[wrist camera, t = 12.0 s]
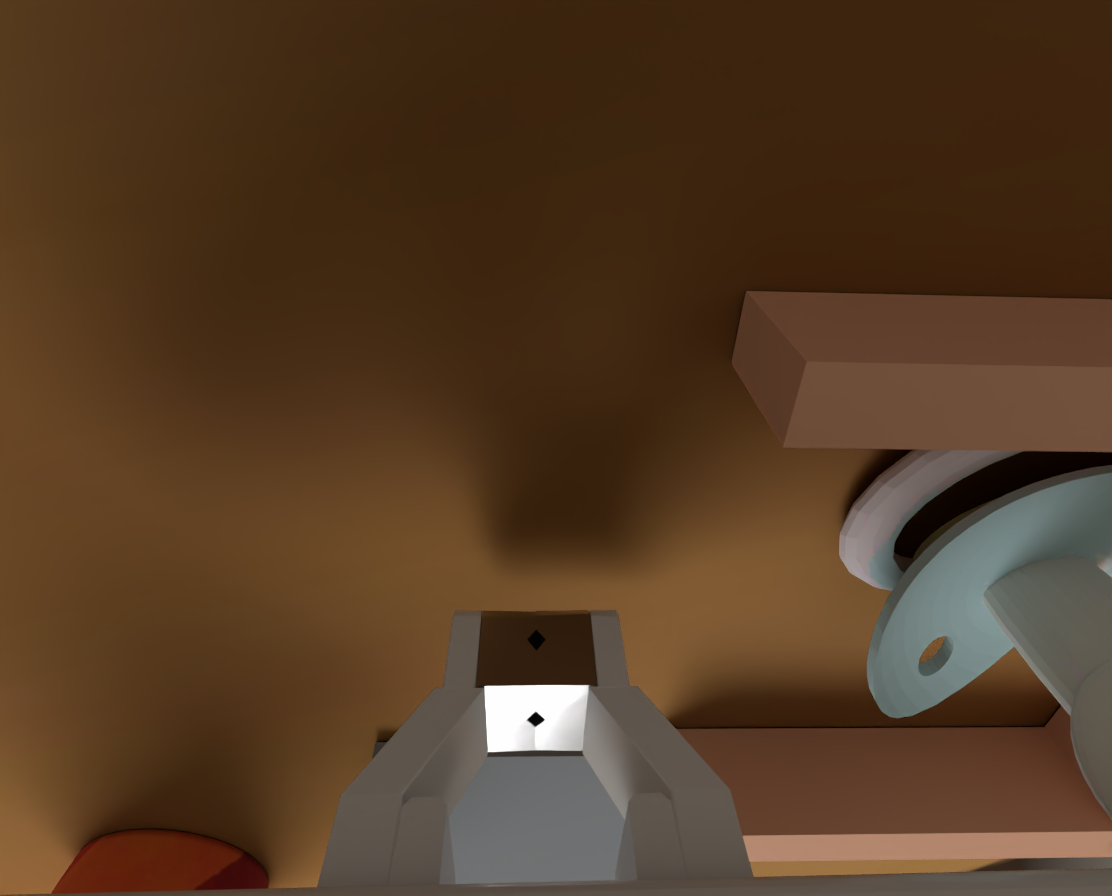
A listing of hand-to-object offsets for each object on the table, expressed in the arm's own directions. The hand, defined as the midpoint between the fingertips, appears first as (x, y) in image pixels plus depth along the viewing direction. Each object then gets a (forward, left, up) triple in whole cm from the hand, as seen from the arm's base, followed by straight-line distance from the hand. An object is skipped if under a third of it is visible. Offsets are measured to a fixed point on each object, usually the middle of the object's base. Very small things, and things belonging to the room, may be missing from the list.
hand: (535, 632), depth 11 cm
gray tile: (0, -10, -1) cm, 10 cm away
